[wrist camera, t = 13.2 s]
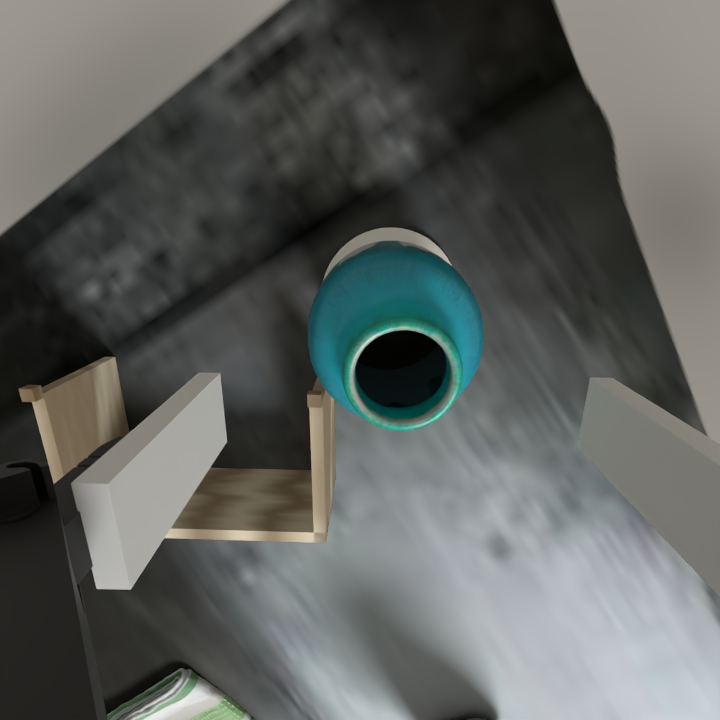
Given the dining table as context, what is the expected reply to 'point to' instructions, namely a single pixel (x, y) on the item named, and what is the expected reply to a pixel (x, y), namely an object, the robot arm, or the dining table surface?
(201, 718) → the dish towel
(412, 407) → the vase
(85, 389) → the light wood u-shaped piece
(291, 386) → the dining table surface
